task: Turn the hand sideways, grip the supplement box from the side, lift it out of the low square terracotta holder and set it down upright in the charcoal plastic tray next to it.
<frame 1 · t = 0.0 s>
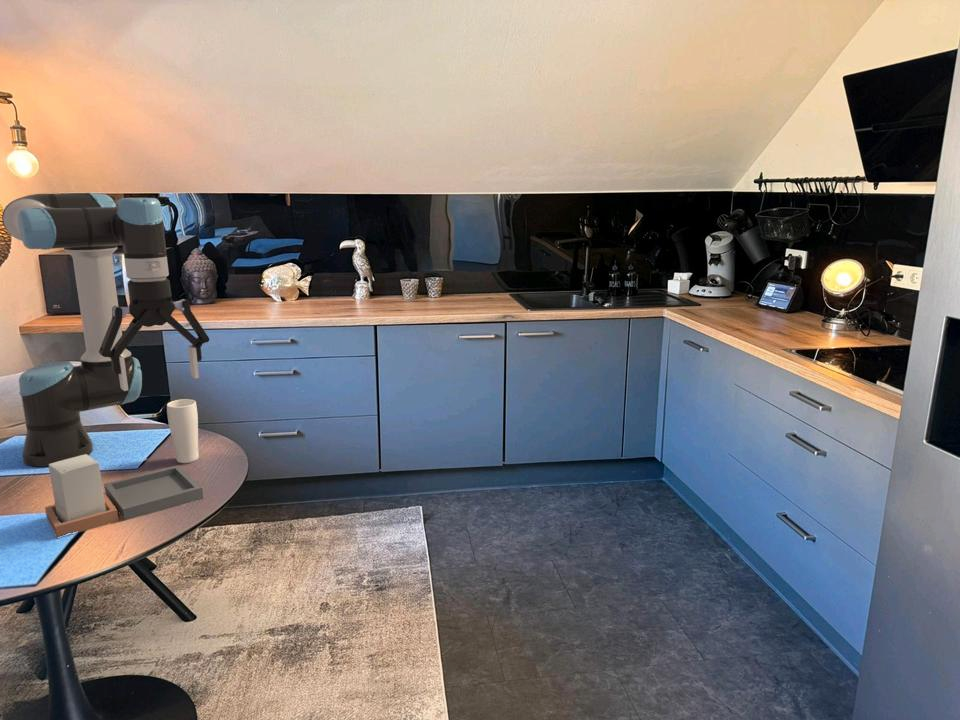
hand: (160, 383, 139), 28 cm above the table, tool pointing down, fingers open, 13 cm apart
terracotta holder: (82, 519, 141), on the table
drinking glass: (187, 460, 171), on the table
charcoal tray: (154, 496, 151), on the table
supplement box: (82, 520, 141), resting in terracotta holder
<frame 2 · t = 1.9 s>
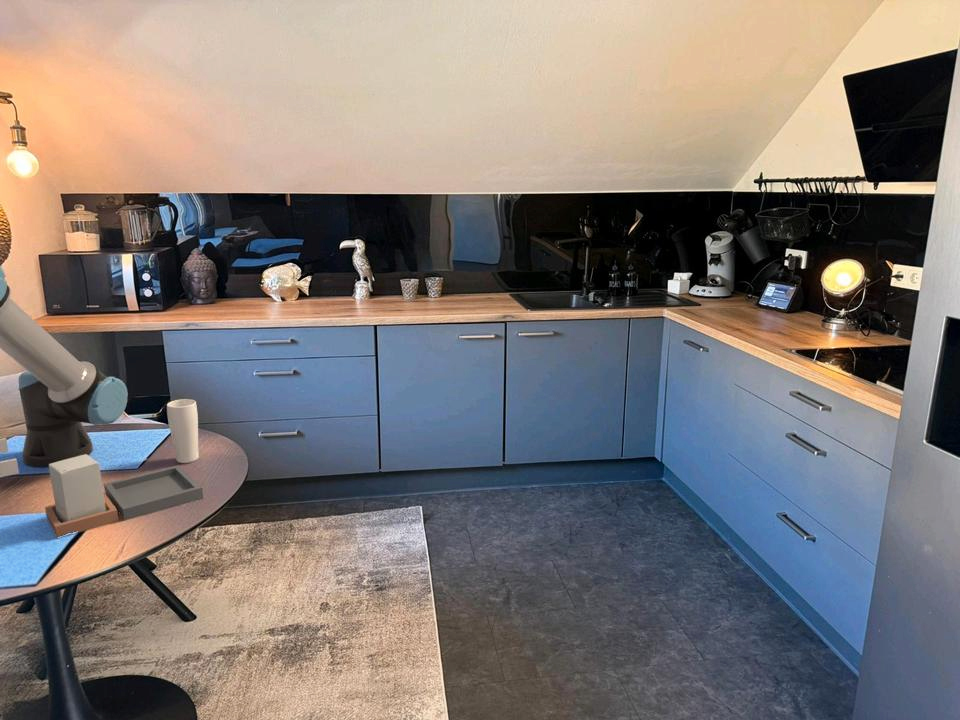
hand: (12, 454, 130), 17 cm above the table, tool horizontal, fingers open, 13 cm apart
nothing on the table moved.
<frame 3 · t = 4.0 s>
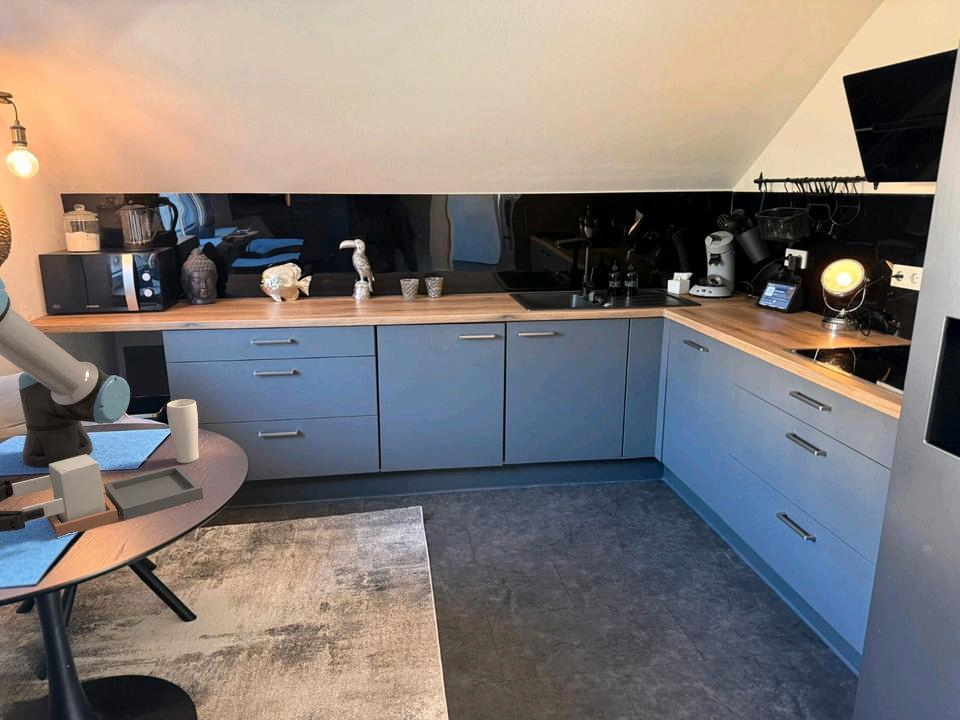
hand: (57, 492, 136), 7 cm above the table, tool horizontal, fingers open, 13 cm apart
nothing on the table moved.
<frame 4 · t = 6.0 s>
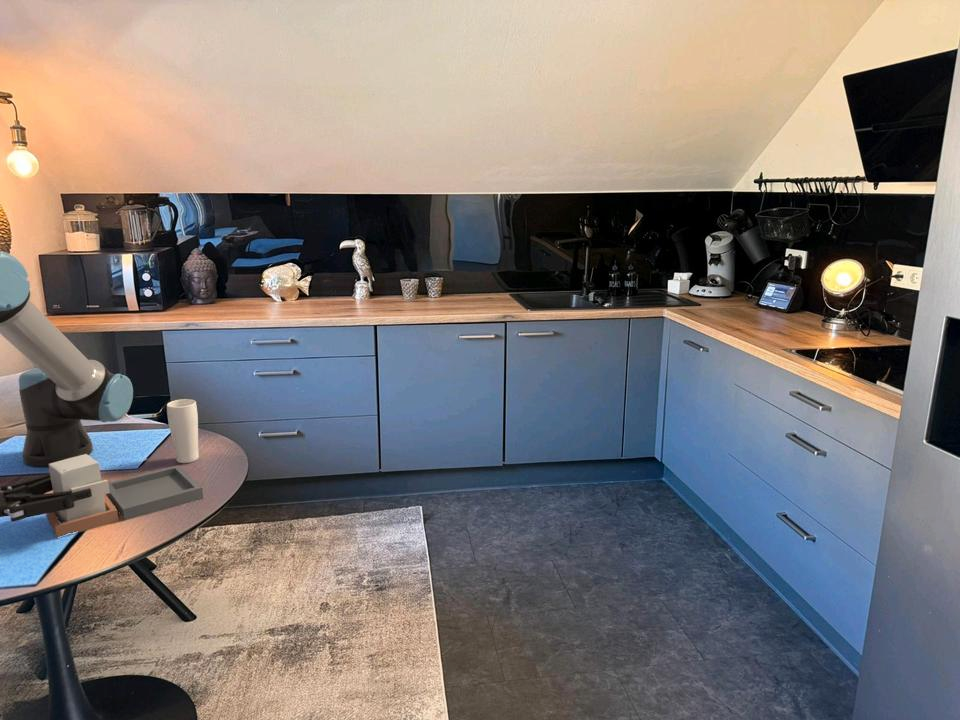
hand: (103, 479, 142), 8 cm above the table, tool horizontal, fingers closed on supplement box, 8 cm apart
supplement box: (82, 520, 141), resting in terracotta holder, touching gripper
everything else where it was.
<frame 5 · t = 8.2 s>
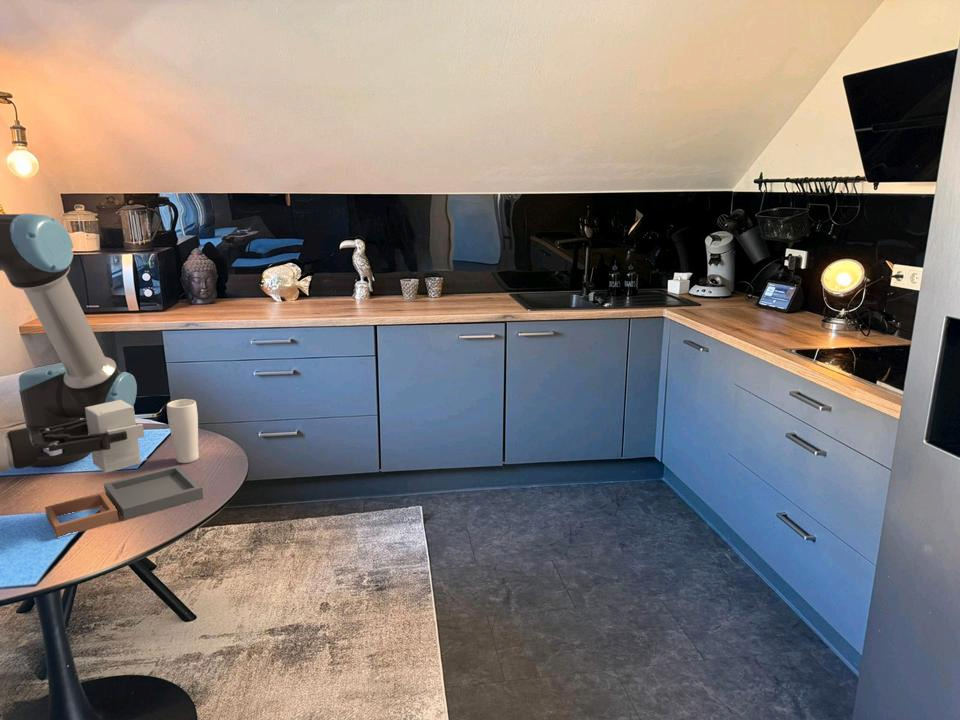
hand: (137, 424, 144), 18 cm above the table, tool horizontal, fingers closed on supplement box, 8 cm apart
supplement box: (117, 464, 143), point 10 cm above the table, touching gripper
everything else where it was.
when the fingers open (10 cm above the table, at t = 10.5 s): supplement box drops 1 cm, resting on charcoal tray.
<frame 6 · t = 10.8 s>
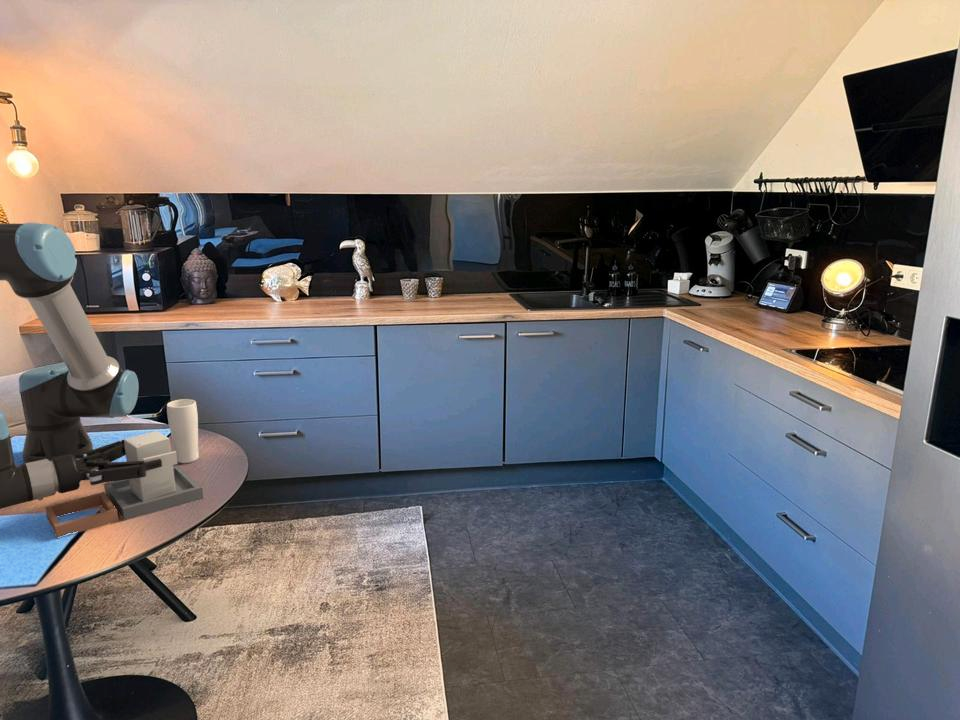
hand: (167, 449, 151), 10 cm above the table, tool horizontal, fingers open, 11 cm apart
supplement box: (153, 492, 151), point 1 cm above the table, touching charcoal tray
everything else where it was.
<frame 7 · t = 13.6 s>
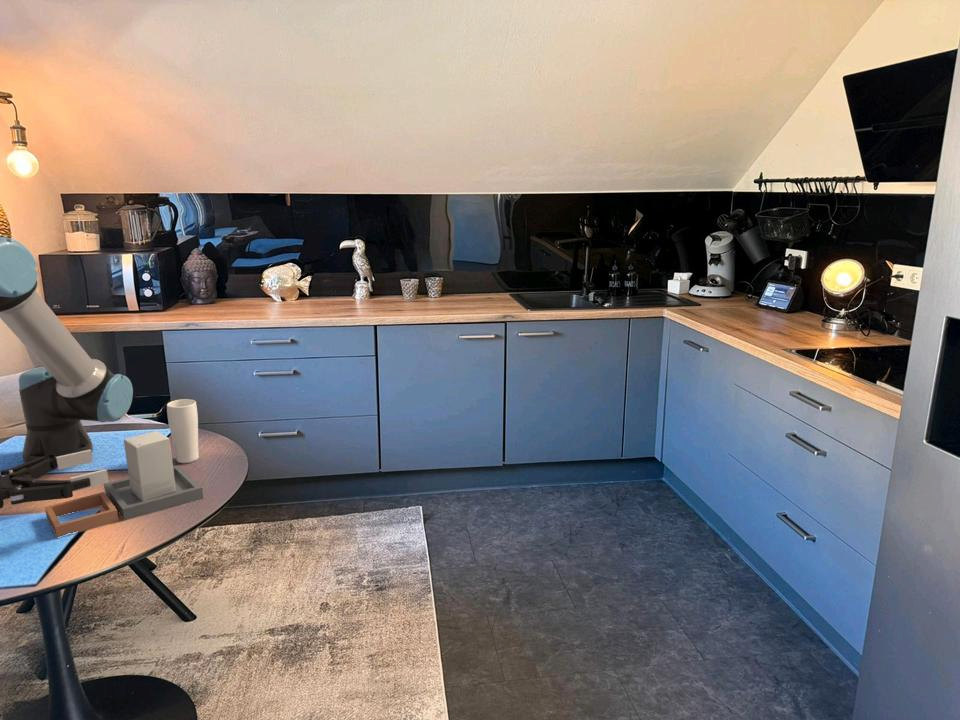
hand: (99, 465, 143), 10 cm above the table, tool horizontal, fingers open, 13 cm apart
nothing on the table moved.
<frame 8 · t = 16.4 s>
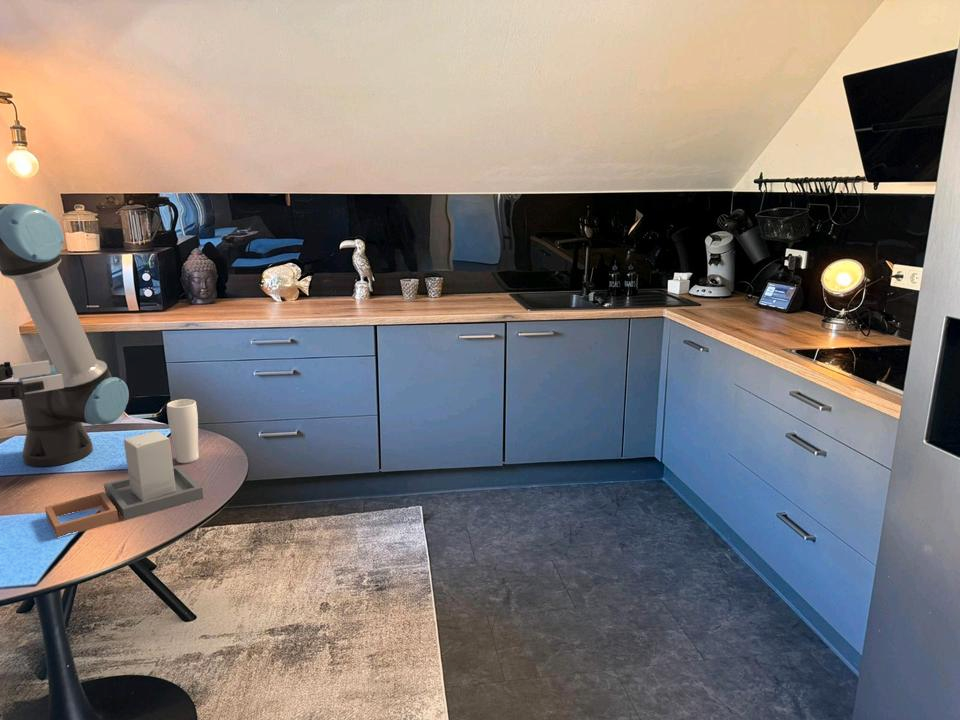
hand: (56, 373, 138), 30 cm above the table, tool horizontal, fingers open, 13 cm apart
nothing on the table moved.
at the end: supplement box inside the target area on the charcoal tray (0.1 cm from its centre), point 0.8 cm above the charcoal tray's base; supplement box tilted 0°; the gripper is holding nothing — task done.
